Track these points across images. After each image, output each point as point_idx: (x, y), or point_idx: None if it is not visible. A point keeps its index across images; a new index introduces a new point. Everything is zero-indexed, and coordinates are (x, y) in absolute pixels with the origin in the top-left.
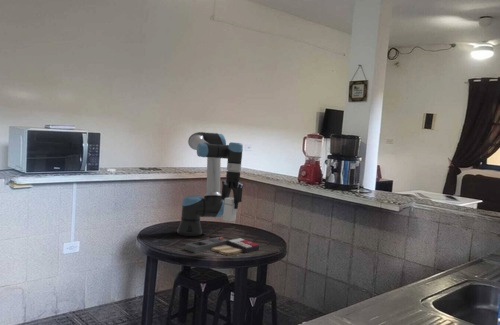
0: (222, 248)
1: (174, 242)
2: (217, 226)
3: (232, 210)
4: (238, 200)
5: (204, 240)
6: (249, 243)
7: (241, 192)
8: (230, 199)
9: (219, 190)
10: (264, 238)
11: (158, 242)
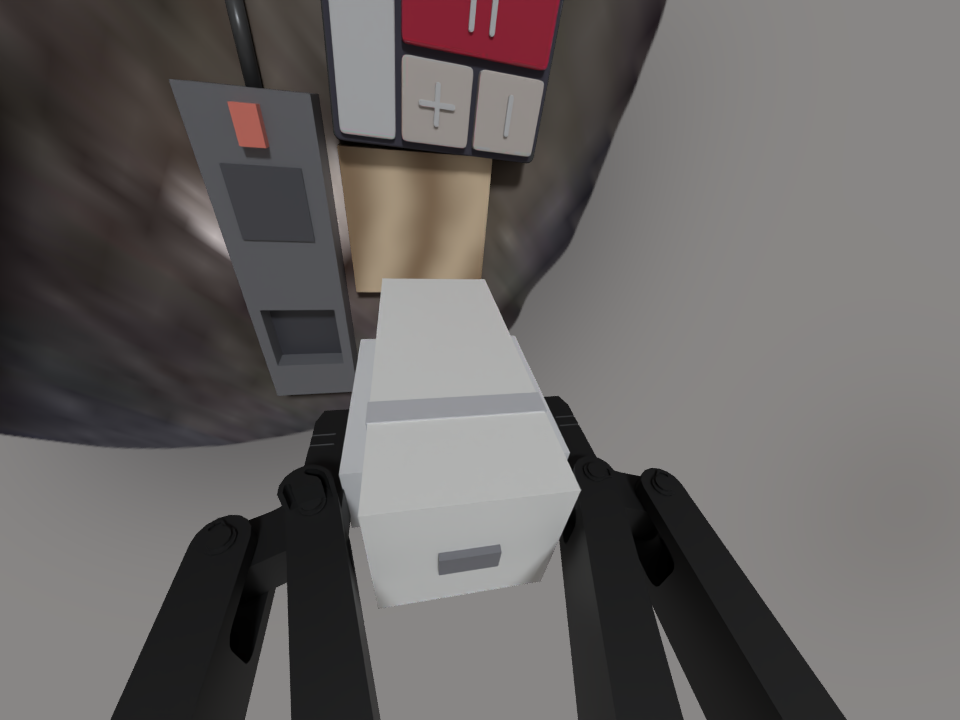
0: (399, 247)
1: (121, 347)
2: None
3: None
4: (655, 543)
5: (244, 270)
6: (496, 31)
7: (821, 716)
8: (514, 582)
9: None
10: None
11: (104, 406)
